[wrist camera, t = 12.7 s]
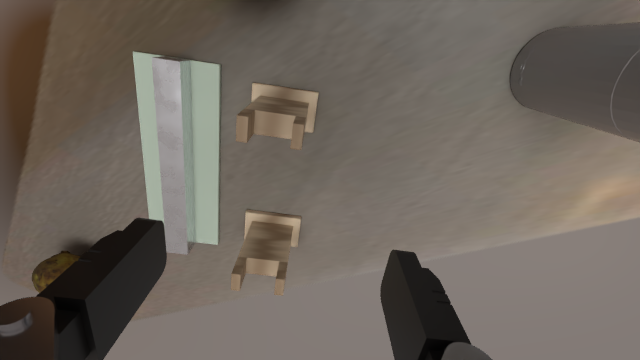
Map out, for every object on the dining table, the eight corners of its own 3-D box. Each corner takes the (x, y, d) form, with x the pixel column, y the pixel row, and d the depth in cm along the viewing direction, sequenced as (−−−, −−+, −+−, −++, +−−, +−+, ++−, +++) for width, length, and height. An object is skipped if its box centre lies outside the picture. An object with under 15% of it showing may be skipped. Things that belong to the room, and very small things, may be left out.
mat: (221, 64, 36) (219, 64, 36) (219, 242, 47) (217, 244, 46) (135, 51, 36) (132, 51, 35) (153, 234, 46) (151, 236, 46)
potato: (123, 300, 52) (91, 342, 45) (56, 251, 48) (9, 288, 41) (155, 277, 50) (127, 317, 43) (88, 223, 46) (44, 257, 38)
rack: (318, 92, 38) (317, 112, 27) (297, 243, 47) (290, 304, 36) (253, 82, 37) (225, 98, 26) (245, 237, 47) (222, 297, 36)
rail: (190, 60, 36) (179, 61, 33) (195, 242, 46) (187, 254, 44) (164, 56, 36) (151, 57, 33) (175, 239, 46) (166, 252, 43)
